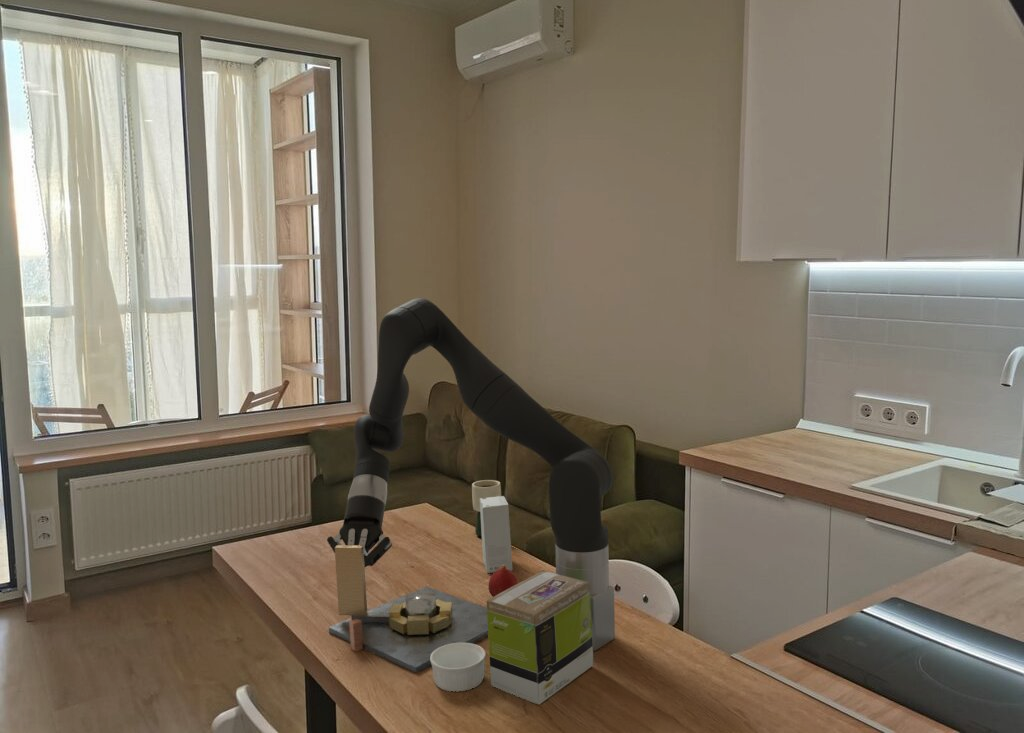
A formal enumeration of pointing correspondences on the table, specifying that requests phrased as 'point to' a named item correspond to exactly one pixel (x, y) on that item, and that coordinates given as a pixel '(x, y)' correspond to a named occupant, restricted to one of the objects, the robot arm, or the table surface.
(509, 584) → the onion
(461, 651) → the ramekin
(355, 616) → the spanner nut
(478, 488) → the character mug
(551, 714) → the table surface
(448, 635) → the hub base
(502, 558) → the skincare box
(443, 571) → the table surface
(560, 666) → the tea box
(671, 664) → the table surface
